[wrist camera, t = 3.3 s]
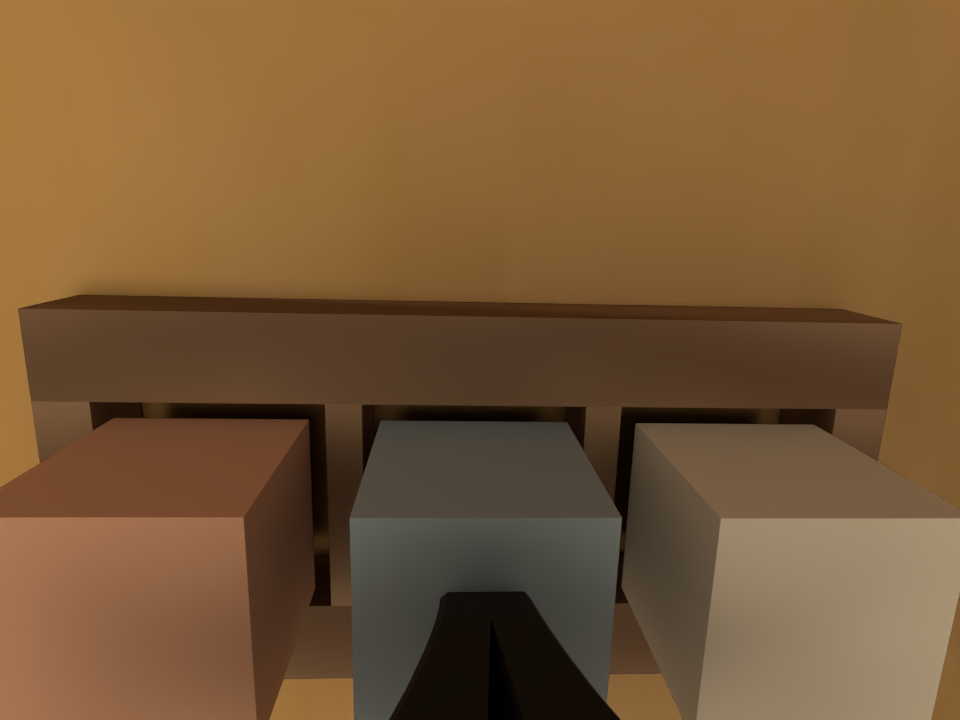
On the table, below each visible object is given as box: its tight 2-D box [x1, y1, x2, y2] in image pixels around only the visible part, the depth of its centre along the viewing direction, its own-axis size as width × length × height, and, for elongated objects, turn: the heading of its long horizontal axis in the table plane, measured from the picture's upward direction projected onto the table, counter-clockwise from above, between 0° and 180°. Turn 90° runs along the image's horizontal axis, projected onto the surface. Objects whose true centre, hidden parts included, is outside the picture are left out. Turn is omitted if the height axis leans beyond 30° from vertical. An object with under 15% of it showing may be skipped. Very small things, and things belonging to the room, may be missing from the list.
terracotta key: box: [0, 418, 315, 720], centre depth 12 cm, size 4×4×5 cm
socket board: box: [18, 295, 902, 679], centre depth 16 cm, size 9×19×2 cm, turn 88°
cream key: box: [621, 423, 960, 720], centre depth 13 cm, size 4×4×5 cm
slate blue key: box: [350, 421, 622, 720], centre depth 12 cm, size 4×4×5 cm
